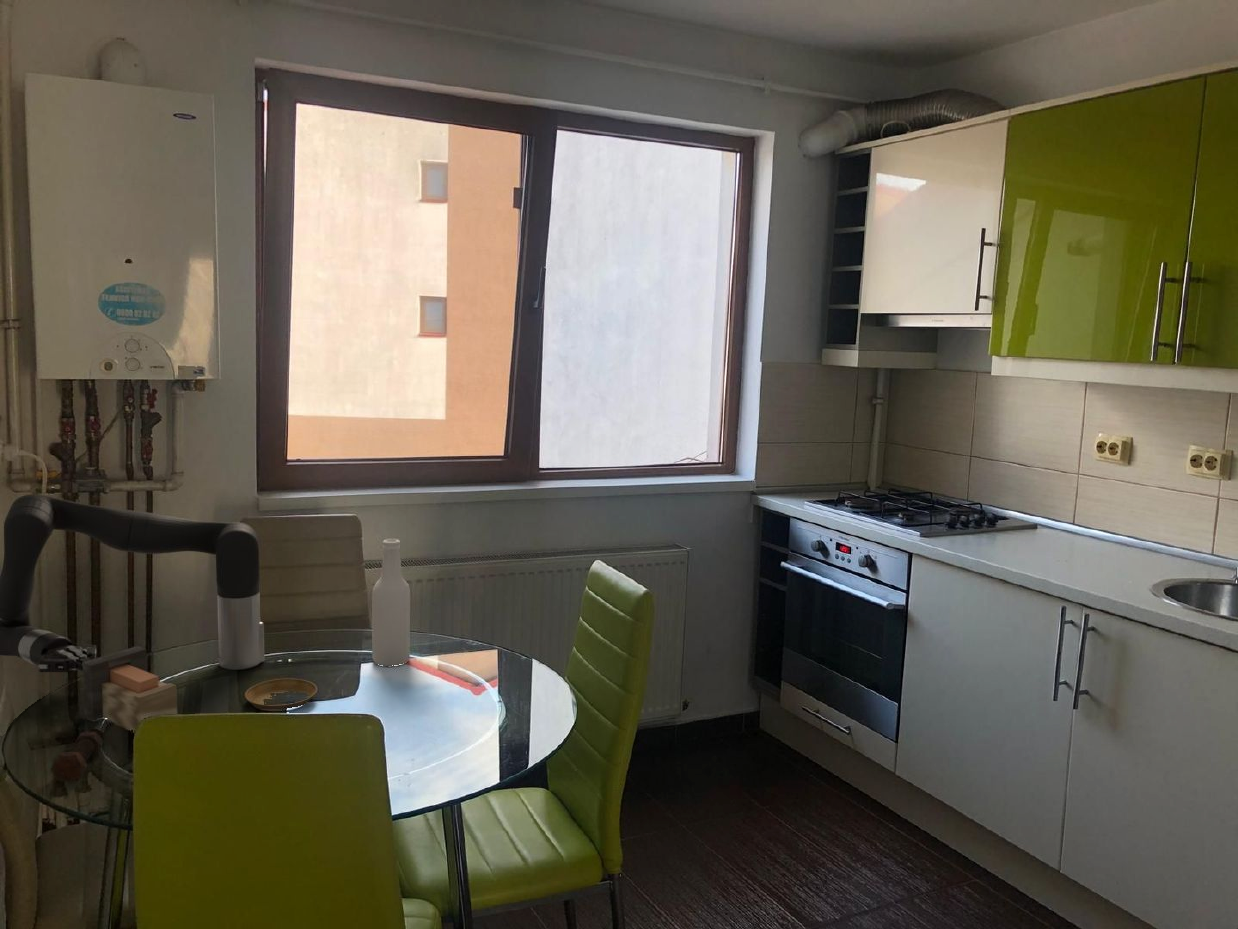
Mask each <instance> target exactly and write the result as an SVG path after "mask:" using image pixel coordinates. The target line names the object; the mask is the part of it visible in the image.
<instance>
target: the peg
mask: <svg viewBox="0 0 1238 929" xmlns="http://www.w3.org/2000/svg"><path fill="white" fill-rule="evenodd" d="M158 681H159V676H158V675H155V674H153V673H151V672H148V671H147V672H146V671H143V670H141V669H138V668H136V667H133V666H131V665H128V664H126V663H124V664H120V665H117V666H114V667H111V668H109V682H112V683H114V684H117V685H119V686H121V687H124V688H126V689H128V690H131V691H133V692H136V693H138V694H139V693H142V692H145V691H148V690H151V689H154V688H157V687H159V685H158Z"/></svg>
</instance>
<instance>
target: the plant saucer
mask: <svg viewBox="0 0 1238 929" xmlns="http://www.w3.org/2000/svg"><path fill="white" fill-rule="evenodd" d="M288 690H290V691H291V690H292V691H298V692H301V693H303V692H304V693H307V694H308V695H310V696H309V698H307V699H305V700H302V701H299V702H295V703H291V704H284V705H264V701H263V700H264V699H272V698H270V697H272V696H271V695H270V693H275V694H276V693H284V692H289V691H288ZM317 691H318V687H317V685H316V684H315V683H313V682H311V681H308V680H305V679H302V678H300V679H299V678H277V679H271V680H266V681H263V682H259V683H257V684H255V685H252V686H251V687H249V688H248V689H247V690H246V691H245V693H244V697H245V699H246V700H247V701H248V702H249V703H250V704H251V705H252V706H254V707H255V708H256V709H258V710H260V709H287V708H292V707H298V706H301V705H304V704H305V705H307V704H308V703H309V702H310V701H311V700H312V699H313V698H314V696H315V695H316V694H317ZM294 693H295V692H294ZM274 696H276V695H274ZM273 699H274V698H273ZM265 704H266V703H265ZM305 705H304V706H305ZM282 712H286V711H282ZM282 712H281V713H282Z"/></svg>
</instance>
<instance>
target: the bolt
mask: <svg viewBox="0 0 1238 929" xmlns="http://www.w3.org/2000/svg"><path fill="white" fill-rule="evenodd" d="M104 739H105V733H104V731H102V730H100V728H99V729H98V728H90V729H89V730H88V731H83V732H81V733H80V734H79V735H78V737H77V738H76V740H75V741H74V743H73V745H72V747H73V748H72V749H70V751H65V752H60V753H59V754H58V755H57V757H56V758H55V760H54V762H53V763H52V765H51V767H50V770H51V773H52V775H53V776H54V777H55V779H56V780H57V781H59V782H66V783H67V782H76V781H79V779H80V778H81V776H82V775H83V773H84V771H85V770H86V769H87V766H88V763H87V762H86V761H87V760H88V759H89V758H90V757H89V756H91V757H94V756H93V755H95V756H96V755H97V754H98V752H99V750H100V749H101V747H102V746H103V744H104ZM96 753H97V754H96Z"/></svg>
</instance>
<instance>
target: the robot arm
mask: <svg viewBox="0 0 1238 929" xmlns="http://www.w3.org/2000/svg"><path fill="white" fill-rule="evenodd" d="M54 530H57V531H58V530H59V531H68V532H74V533H80V534H83V535H85V536H89V537H90V538H92V539H95V540H96V541H97V542H100V543H102V544H104V545H105V546H107V547H109V548H111V549H114V550H117V551H120V552H121V551H122V552H128V553H136V554H148V555H150V554H151V555H159V554H170V553H179V552H195V553H196V552H197V553H205V554H209V555H215V574H216V575H215V576H216V579H215V580H216V582H215V583H216V597H217V626H218V627H217V629H218V631H217V633H218V659H219V660H218V665H219V667H221V668H223V669H225V670H234V671H236V670H238V671H239V670H247V669H250V668H253V667H256V666H258V665H259V664H261V663H263V662H265V624H264V622H262V621H261V611H260V610H261V609H260V608H261V607H260V606H261V605H260V580H261V579H260V547H259V546H260V545H259V544H260V543H259V538H258V534H257V531H255V529H254V528H253V527H251V526H250V525H249V524H246V523H244V522H238V521H237V522H235V521H206V520H196V519H188V518H183V517H179V516H173V515H167V514H161V513H160V514H159V513H154V512H148V511H140V510H139V511H138V510H132V509H131V510H130V509H120V508H114V507H113V508H112V507H107V506H101V505H100V506H99V505H93V504H86V503H79V502H77V501H70V500H68V499H63V498H58V497H54V496H49V495H43V494H33V493H31V494H25V495H22V496H20V497H18V498H16V499H15V500H14V501H13V502H12V504H11V505H10V508H9V510H8V512H7V514H6V517H5V519H4V523H3V552H4V553H3V563H2V568H1V573H0V656H4V657H6V656H7V657H17V658H19V659H21V660H24V661H25V662H28V663H29V664H31V665H34V666H36V667H38V672H40V673H68V672H70V671H71V670H72V671H81V672H83V667H82V662H86V661H89V660H92V659H96V658H97V645H96V644H91V645H89V647H87V648H83V647H82V646H80V645H79V646H78V645H77V646H76V645H75V644H74V643H73V642H72V641H71V640H70V639H69V638H68V637H66V636H62V635H60V634H58V633H54V632H52V631H49V630H43V629H41V628H38V627H36V626H35V627H34V626H32V622H31V620H32V619H31V614H30V613H31V612H30V608H31V607H30V606H31V602H32V598H33V594H34V587H35V583H36V582H35V580H36V579H35V578H36V567H37V564H38V561H39V558H40V555H41V553H42V552H43V549H44V547H45V545H46V544H47V542H48V540H49V538H50V537H51V535H52V534H53V532H54Z"/></svg>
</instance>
